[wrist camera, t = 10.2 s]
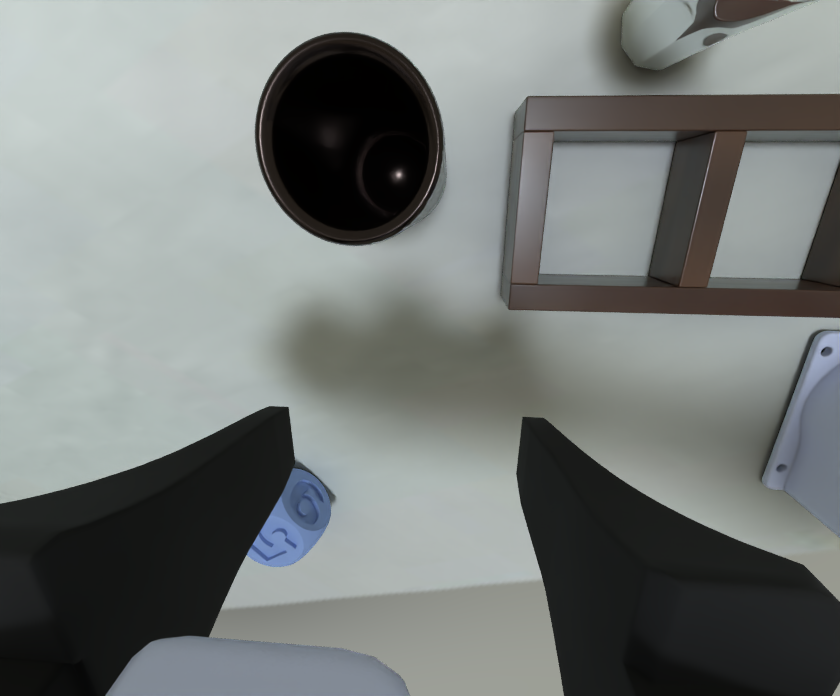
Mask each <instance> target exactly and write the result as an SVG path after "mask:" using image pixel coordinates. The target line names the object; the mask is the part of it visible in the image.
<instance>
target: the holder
mask: <svg viewBox="0 0 840 696" xmlns="http://www.w3.org/2000/svg"><path fill="white" fill-rule="evenodd" d="M513 141H514V142H513V147H512V160H511V172H510V185H509V198H508V210H507V223H506V235H505V248H504V260H503V275H502V286H501V297H502V299H503V301H504V302H505V304H506V306H507V308H508V309H509V310H539V311H580V312H620V313H661V314H702V315H742V316H783V317H824V318H840V166H839V169H838V172H837V175H836V178H835V181H834V184H833V187H832V189H831V192H830V195H829V198H828V201H827V204H826V207H825V210H824V213H823V216H822V219H821V222H820V225H819V228H818V231H817V234H816V237H815V239H814V242H813V245H812V248H811V251H810V254H809V257H808V260H807V263H806V266H805V269H804V272H803V275H802V278H801V279H756V278H710V274H711V270H712V267H713V263H714V259H715V255H716V251H717V247H718V243H719V240H720V236H721V232H722V228H723V224H724V220H725V217H726V213H727V209H728V205H729V201H730V197H731V194H732V190H733V186H734V182H735V178H736V174H737V170H738V167H739V163H740V159H741V155H742V151H743V147H744V144H745V141H840V94H758V95H619V96H528V97H527V98H526V99H525V100H524V102H523V103H522V104H521V106H520V107H519V108H518V110H517V111H516V113H515V123H514V135H513ZM567 141H678V142H677V143H676V146H675V151H674V156H673V161H672V166H671V171H670V175H669V180H668V185H667V190H666V195H665V200H664V204H663V209H662V214H661V219H660V224H659V229H658V233H657V238H656V243H655V248H654V253H653V258H652V262H651V267H650V272H649V276H600V275H548V274H539V268H540V259H541V250H542V241H543V232H544V223H545V214H546V205H547V196H548V187H549V178H550V169H551V160H552V151H553V142H567Z"/></svg>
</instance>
